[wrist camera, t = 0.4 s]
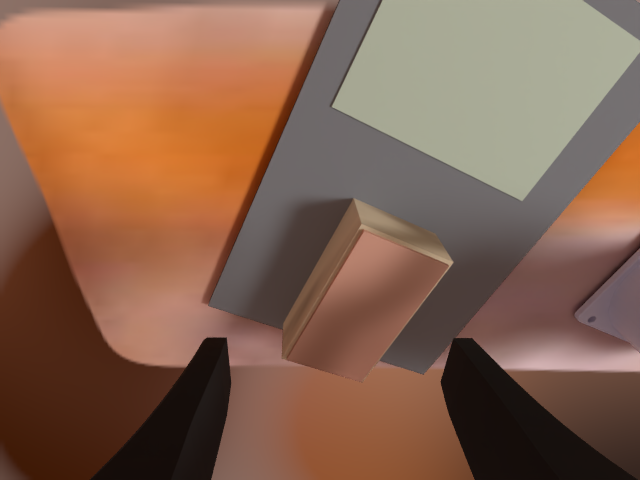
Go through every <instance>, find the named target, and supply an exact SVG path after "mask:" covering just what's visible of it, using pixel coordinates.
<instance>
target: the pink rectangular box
mask: <svg viewBox="0 0 640 480" xmlns="http://www.w3.org/2000/svg"><path fill="white" fill-rule="evenodd" d="M452 264H453V261H452V259H451V257H450V256H449V254H448V253H447V251H446V250H445V248H444V246H443V245H442V243H441V242H440V240H439V238H438V237H437V235H436V234H435V233H433V232H430V231H428V230H426V229H424V228H421V227H419V226H417V225H414V224H412V223H410V222H407V221H405V220H403V219H401V218H398V217H396V216H394V215H391V214H389V213H387V212H384V211H382V210H380V209H378V208H375V207H373V206H371V205H368V204H366V203H364V202H361V201H359V200H357V199H355V198H353V200H352V202H351V204H350V206H349V207H348V209H347V211H346V213H345V214H344V216H343V218H342V220H341V222H340V223H339V225H338V227H337V229H336V230H335V232H334V234H333V236H332V238H331V239H330V241H329V243H328V245H327V246H326V248H325V250H324V252H323V254H322V255H321V257H320V259H319V261H318V262H317V264H316V266H315V268H314V269H313V271H312V273H311V275H310V277H309V278H308V280H307V282H306V284H305V285H304V287H303V289H302V291H301V293H300V294H299V296H298V298H297V300H296V301H295V303H294V305H293V307H292V309H291V310H290V312H289V314H288V316H287V317H286V319H285V321H284V323H283V341H282V359H285V360H288V361H292V362H295V363H298V364H302V365H305V366H309V367H312V368H315V369H319V370H322V371H326V372H329V373H332V374H336V375H339V376H342V377H345V378H349V379H352V380H355V381H359V382H363V381H364V380H365V378H366V377H367V376H368V374H369V373H370V371H371V370H372V369H373V368H374V366H375V365H376V364H377V362H378V361H379V360H380V359H381V357H382V356H383V355H384V353H385V352H386V351H387V349H388V348H389V347H390V345H391V344H392V343H393V341H394V340H395V339H396V337H397V336H398V335H399V334H400V332H401V331H402V330H403V328H404V327H405V326H406V324H407V323H408V322H409V320H410V319H411V318H412V316H413V315H414V314H415V312H416V311H417V310H418V309H419V307H420V306H421V305H422V303H423V302H424V301H425V299H426V298H427V297H428V295H429V294H430V293H431V291H432V290H433V289H434V287H435V286H436V285H437V284H438V282H439V281H440V280H441V278H442V277H443V276H444V274H445V273H446V272H447V270H448V269H449V268H450V266H451V265H452Z"/></svg>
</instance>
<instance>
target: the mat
mask: <svg viewBox="0 0 640 480" xmlns="http://www.w3.org/2000/svg"><path fill="white" fill-rule="evenodd" d="M639 122H640V3H638V2H637V1H636V0H339V2H338V5H337V7H336V9H335V12H334V14H333V16H332V19H331V21H330V23H329V26H328V28H327V30H326V32H325V35H324V37H323V39H322V42H321V44H320V46H319V49H318V51H317V53H316V56H315V58H314V60H313V63H312V65H311V67H310V70H309V72H308V74H307V77H306V79H305V81H304V84H303V86H302V88H301V90H300V93H299V95H298V97H297V100H296V102H295V104H294V107H293V109H292V111H291V114H290V116H289V118H288V121H287V123H286V125H285V128H284V130H283V132H282V135H281V137H280V139H279V141H278V144H277V146H276V148H275V151H274V153H273V155H272V158H271V160H270V162H269V165H268V167H267V169H266V172H265V174H264V176H263V179H262V181H261V183H260V186H259V188H258V190H257V192H256V195H255V197H254V199H253V202H252V204H251V206H250V209H249V211H248V213H247V216H246V218H245V220H244V223H243V225H242V227H241V230H240V232H239V234H238V237H237V239H236V241H235V243H234V246H233V248H232V250H231V253H230V255H229V257H228V260H227V262H226V264H225V267H224V269H223V271H222V274H221V276H220V278H219V281H218V283H217V285H216V288H215V290H214V292H213V294H212V297H211V299H210V301H209V305H208V306H210V307H213V308H216V309H219V310H223V311H226V312H229V313H232V314H235V315H238V316H241V317H245V318H248V319H251V320H254V321H257V322H260V323H263V324H266V325H270V326H273V327H276V328H279V329H282V330H283V323H284V321H285V319H286V317H287V316H288V314H289V312H290V310H291V309H292V307H293V305H294V303H295V301H296V300H297V298H298V296H299V294H300V293H301V291H302V289H303V287H304V285H305V284H306V282H307V280H308V278H309V277H310V275H311V273H312V271H313V269H314V268H315V266H316V264H317V262H318V261H319V259H320V257H321V255H322V254H323V252H324V250H325V248H326V246H327V245H328V243H329V241H330V239H331V238H332V236H333V234H334V232H335V230H336V229H337V227H338V225H339V223H340V222H341V220H342V218H343V216H344V214H345V213H346V211H347V209H348V207H349V206H350V204H351V202H352V200H353V198H355V199H357V200H359V201H361V202H364V203H366V204H368V205H371V206H373V207H375V208H378V209H380V210H382V211H384V212H387V213H389V214H391V215H394V216H396V217H398V218H401V219H403V220H405V221H407V222H410V223H412V224H414V225H417V226H419V227H421V228H424V229H426V230H428V231H430V232H433V233H435V234H436V235H437V237H438V238H439V240H440V242H441V243H442V245H443V246H444V248H445V250H446V251H447V253H448V254H449V256H450V257H451V259H452V261H453V264H452V265H451V266H450V268H449V269H448V270H447V272H446V273H445V274H444V276H443V277H442V278H441V280H440V281H439V282H438V284H437V285H436V286H435V287H434V289H433V290H432V291H431V293H430V294H429V295H428V297H427V298H426V299H425V301H424V302H423V303H422V305H421V306H420V307H419V309H418V310H417V311H416V312H415V314H414V315H413V316H412V318H411V319H410V320H409V322H408V323H407V324H406V326H405V327H404V328H403V330H402V331H401V332H400V334H399V335H398V336H397V337H396V339H395V340H394V341H393V343H392V344H391V345H390V347H389V348H388V349H387V351H386V352H385V353H384V355H383V356H382V357H381V359H380V360H379V361H382V362H386V363H389V364H392V365H395V366H398V367H401V368H404V369H408V370H411V371H414V372H417V373H420V374H424V373H425V372H426V371H427V370H428V369H429V368H430V366H431V365H432V364H433V363H434V362H435V360H436V359H437V358H438V357H439V356H440V355H441V353H442V352H443V351H444V350H445V349H446V348H447V346H448V345H449V344H450V343H451V342H452V341H453V338H455V337H456V336H457V335H458V334H459V332H460V331H461V330H462V329H463V328H464V327H465V325H466V324H467V323H468V322H469V321H470V320H471V318H472V317H473V316H474V315H475V314H476V313H477V311H478V310H479V309H480V308H481V307H482V306H483V304H484V303H485V302H486V301H487V300H488V299H489V297H490V296H491V295H492V294H493V293H494V291H495V290H496V289H497V288H498V287H499V286H500V284H501V283H502V282H503V281H504V280H505V279H506V277H507V276H508V275H509V274H510V273H511V272H512V270H513V269H514V268H515V267H516V266H517V265H518V263H519V262H520V261H521V260H522V259H523V258H524V256H525V255H526V254H527V253H528V252H529V251H530V249H531V248H532V247H533V246H534V245H535V244H536V242H537V241H538V240H539V239H540V238H541V237H542V235H543V234H544V233H545V232H546V231H547V230H548V228H549V227H550V226H551V225H552V224H553V223H554V221H555V220H556V219H557V218H558V217H559V215H560V214H561V213H562V212H563V211H564V210H565V208H566V207H567V206H568V205H569V204H570V203H571V201H572V200H573V199H574V198H575V197H576V196H577V194H578V193H579V192H580V191H581V190H582V189H583V187H584V186H585V185H586V184H587V183H588V182H589V180H590V179H591V178H592V177H593V176H594V175H595V173H596V172H597V171H598V170H599V169H600V168H601V166H602V165H603V164H604V163H605V162H606V161H607V159H608V158H609V157H610V156H611V155H612V154H613V152H614V151H615V150H616V149H617V148H618V146H619V145H620V144H621V143H622V142H623V141H624V139H625V138H626V137H627V136H628V135H629V134H630V132H631V131H632V130H633V129H634V128H635V127H636V125H637V124H638V123H639Z"/></svg>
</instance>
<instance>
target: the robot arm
mask: <svg viewBox="0 0 640 480" xmlns="http://www.w3.org/2000/svg"><path fill="white" fill-rule="evenodd" d="M575 318H576V319H577V320H578V321H579V322H580V323H583V324H585V325H588V326H590V327H593V328H595V329H597V330H600V331H602V332H605V333H607V334H610V335H612V336H614V337H617V338H619V339H622V340H624V341H627V342H629V343H630V344H631V345H632V346H633V347H634V348H635V349H636V350H637V351H638V352H639V353H640V249H639V250H638V251H637V252H636V253H635V254H634V255H633V256H632V257H631V258H630V259H629V260H628V261H627V262H626V263H625V264H624V265H622V266H621V267H620V268H619V269H618V270H617V271H616V272H615V273H614V274H613V275H612V276H611V277H610V278H609V279H608V280H607V281H606V282H605V283H604V284H603V285H602V286H601V287H600V288H599V289H598V290H597V291H596V292H595V293H594V294H593V295H592V296H591V297H590V298H589V299H588V300H587V301H586V302H585V303H584V304H583V305H582V306H581V307H580V308H579V309H578V310H577V311H576V313H575ZM441 386H442V390H443V394H444V398H445V402H446V405H447V409H448V412H449V416H450V418H451V421H452V423H453V426H454V428H455V431H456V434H457V436H458V439H459V441H460V444H461V447H462V449H463V452H464V454H465V457H466V459H467V462H468V464H469V466H470V469H471V472H472V474H473V477H474V479H475V480H637V479H636V478H635V477H633V476H632V475H630V474H629V473H627V472H626V471H624V470H623V469H622V468H620V467H618V466H617V465H616V464H614V463H613V462H611V461H610V460H609V459H607V458H606V457H605V456H603V455H602V454H600V453H599V452H598V451H596V450H595V449H594V448H592V447H591V446H590V445H588V444H587V443H586V442H585V441H583V440H582V439H581V438H579V437H578V436H577V435H576V434H574V433H573V432H572V431H571V430H569V429H568V428H567V427H566V426H565V425H563V424H562V423H561V422H560V421H558V420H557V419H556V418H555V417H554V416H553V415H552V414H550V413H549V412H548V411H547V410H546V409H545V408H544V407H542V406H541V405H540V404H539V403H538V402H537V401H536V400H535V399H534V398H532V397H531V396H530V395H529V394H528V393H527V392H526V391H525V390H524V389H523V388H522V387H521V386H520V385H518V384H517V382H515V381H514V380H513V379H512V378H511V377H510V376H509V375H508V374H507V373H506V372H505V371H504V370H503V369H502V368H501V367H500V366H499V365H498V364H497V363H496V362H495V361H494V360H493V359H492V358H491V357H490V356H489V355H488V354H487V353H486V352H485V351H484V350H483V349H482V348H481V347H480V346H479V345H478V344H477V343H476V342H475V341H474V340H473V339H472V338H453V341H452V345H451V348H450V352H449V355H448V358H447V362H446V365H445V369H444V373H443V376H442V379H441ZM230 388H231V376H230V366H229V356H228V346H227V338H206V339H205V340H203V342H202V344H201V345H200V347H199V349H198V350H197V352H196V354H195V355H194V357H193V358H192V360H191V361H190V363H189V364H188V366H187V367H186V369H185V370H184V372H183V373H182V374H181V376H180V377H179V379H178V380H177V381H176V383H175V384H174V385H173V387H172V388H171V389H170V391H169V392H168V394H167V395H166V396H165V397H164V399H163V400H162V401H161V402H160V404H159V405H158V406H157V408H156V409H155V410H154V411H153V412H152V414H151V415H150V416H149V417H148V418H147V420H146V421H145V422H144V423H143V424H142V426H141V427H140V428H139V429H138V430H137V431H136V433H135V434H134V435H133V436H132V437H131V438H130V439H129V440H128V441H127V442H126V443H125V444H124V446H123V447H122V448H121V449H120V450H119V451H118V452H117V453H116V454H115V455H114V456H113V457H112V458H111V459H110V460H109V461H108V462H107V463H106V464H105V465H104V466H103V467H102V468H101V469H100V470H99V471H98V472H97V473H96V474H95V475H94V476H93V477H92V478H91V479H90V480H211V478H212V474H213V470H214V466H215V462H216V458H217V454H218V450H219V445H220V441H221V437H222V433H223V429H224V425H225V421H226V416H227V410H228V403H229V396H230Z"/></svg>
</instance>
